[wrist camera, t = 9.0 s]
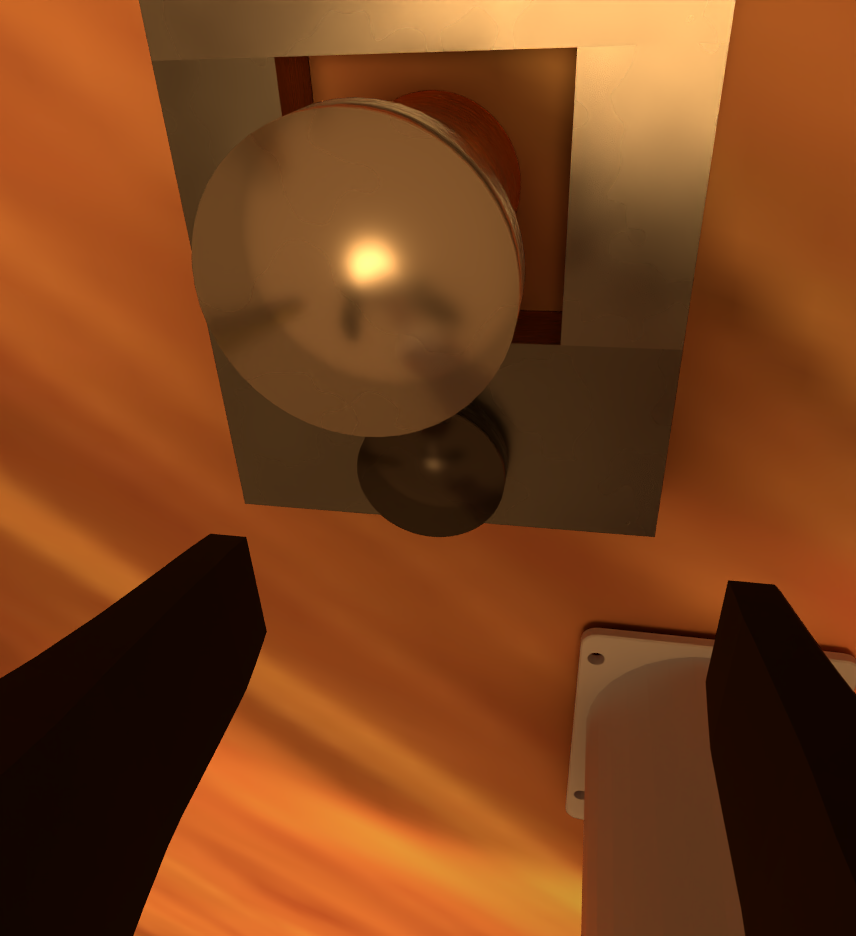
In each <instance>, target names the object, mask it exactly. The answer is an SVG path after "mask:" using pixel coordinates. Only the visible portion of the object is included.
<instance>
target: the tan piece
mask: <svg viewBox="0 0 856 936" xmlns="http://www.w3.org/2000/svg"><path fill="white" fill-rule="evenodd" d="M139 4H140V8H141V13H142V18H143V23H144V27H145V32H146V37H147V42H148V46H149V51H150V56H151V60H152V65H153V70H154V75H155V79H156V84H157V89H158V94H159V98H160V103H161V108H162V112H163V117H164V122H165V127H166V131H167V136H168V141H169V146H170V150H171V155H172V160H173V165H174V169H175V174H176V179H177V183H178V188H179V193H180V198H181V202H182V207H183V212H184V217H185V221H186V226H187V231H188V235H189V240H190V245H191V250H192V236H193V228H194V221H195V218H196V214H197V210H198V206H199V202H200V200H201V198H202V195H203V193H204V191H205V188H206V186H207V183H208V182H209V180H210V178H211V177H212V175H213V174H214V172H215V170H216V169H217V167H218V165H219V164H220V163H221V162H222V161H223V159H224V158H225V157H226V156H227V155H228V154H229V152H230V151H231V150H232V149H233V148H234V147H235V146H236V145H238V144H239V143H240V142H241V141H242V140H243V139H245V138H246V137H247V136H248V135H249V134H251V133H253V132H254V131H256V130H257V129H259V128H261V127H262V126H264V125H266V124H267V123H269V122H271V121H274V120H276V119H278V118H280V117H282V116H285V115H287V114H289V113H291V112H294V111H296V110H298V109H301V108H303V107H306V106H308V105H311V104H313V98H312V89H311V80H310V71H309V62H308V56H320V55H351V54H382V53H413V52H444V51H475V50H507V49H538V48H569V47H577V63H576V81H575V99H574V116H573V134H572V152H571V170H570V187H569V205H568V223H567V241H566V258H565V276H564V294H563V312H552V311H519V314H518V318H517V322H516V326H515V330H514V334H513V338H512V342H511V344H510V346H509V349H508V351H507V354H506V356H505V359H504V361H503V362H502V364H501V366H500V368H499V369H498V371H497V373H496V374H495V376H494V377H493V379H492V380H491V381H490V382H489V384H488V385H487V386H486V388H485V389H484V390H483V391H482V392H481V393H480V394H479V395H478V396H477V397H476V398H475V399H474V400H473V401H472V402H471V403H470V404H469V405H467V406H466V407H465V408H463V409H462V410H460V411H459V412H458V413H456V414H455V415H453V416H452V417H450V418H448V419H446V420H444V421H442V422H440V423H438V424H436V425H434V426H431V427H428V428H426V429H423V430H420V431H416V432H412V433H408V434H404V435H397V436H387V437H362V436H354V435H347V434H342V433H338V432H334V431H329V430H326V429H323V428H320V427H317V426H315V425H312V424H309V423H307V422H305V421H303V420H301V419H299V418H297V417H294V416H292V415H290V414H289V413H287V412H286V411H284V410H282V409H281V408H279V407H278V406H276V405H274V404H273V403H272V402H270V401H269V400H268V399H266V398H265V397H264V396H263V395H261V394H260V393H259V392H258V391H256V390H255V389H254V388H253V387H252V386H251V385H250V384H249V383H248V382H247V381H246V380H245V379H244V378H243V377H242V376H241V375H240V374H239V372H238V371H237V370H236V369H235V368H234V366H233V365H232V364H231V363H230V362H229V360H228V359H227V357H226V356H225V354H224V353H223V351H222V350H221V348H220V347H219V345H218V344H217V342H216V340H215V338H214V336H213V334H212V332H211V331H210V329H209V327H208V330H209V335H210V340H211V344H212V349H213V354H214V358H215V363H216V368H217V373H218V377H219V382H220V387H221V392H222V396H223V401H224V406H225V411H226V415H227V420H228V425H229V429H230V434H231V439H232V444H233V448H234V453H235V458H236V463H237V467H238V472H239V477H240V481H241V486H242V491H243V496H244V500H245V504H256V505H269V506H281V507H293V508H305V509H318V510H330V511H342V512H354V513H367V514H379V515H382V516H383V517H384V518H386V519H387V520H388V521H390V522H391V523H393V524H395V525H396V526H398V527H400V528H402V529H404V530H407V531H410V532H412V533H416V534H420V535H424V536H432V537H447V536H455V535H460V534H463V533H466V532H469V531H471V530H473V529H475V528H477V527H478V526H480V525H482V524H483V523H489V524H501V525H514V526H526V527H538V528H550V529H562V530H575V531H587V532H599V533H611V534H624V535H636V536H648V537H655V531H656V524H657V518H658V511H659V504H660V498H661V491H662V485H663V478H664V471H665V465H666V458H667V451H668V445H669V438H670V431H671V425H672V418H673V411H674V405H675V398H676V392H677V385H678V378H679V372H680V365H681V358H682V352H683V345H684V338H685V332H686V325H687V319H688V312H689V305H690V299H691V292H692V285H693V279H694V272H695V265H696V259H697V252H698V246H699V239H700V232H701V226H702V219H703V212H704V206H705V199H706V192H707V186H708V179H709V172H710V166H711V159H712V153H713V146H714V139H715V133H716V126H717V119H718V113H719V106H720V99H721V93H722V86H723V80H724V73H725V66H726V60H727V53H728V46H729V40H730V33H731V26H732V20H733V13H734V7H735V0H139Z"/></svg>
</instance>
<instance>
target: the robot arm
mask: <svg viewBox="0 0 856 936" xmlns="http://www.w3.org/2000/svg"><path fill="white" fill-rule="evenodd" d="M266 632H267V631H266V626H265V622H264V617H263V612H262V608H261V603H260V599H259V594H258V589H257V585H256V580H255V575H254V571H253V566H252V562H251V557H250V552H249V548H248V543H247V539H246V537H240V536H229V535H218V534H209V535H208V536H206V537H205V538H203V539H202V540H200V541H199V542H198V543H196V544H195V545H193V546H192V547H190V548H189V549H188V550H186V551H185V552H184V553H182V554H181V555H179V556H178V557H177V558H175V559H174V560H173V561H171V562H170V563H169V564H167V565H166V566H165V567H163V568H162V569H161V570H159V571H158V572H157V573H155V574H154V575H153V576H151V577H150V578H148V579H147V580H146V581H144V582H143V583H142V584H140V585H139V586H138V587H136V588H135V589H133V590H132V591H131V592H129V593H128V594H127V595H125V596H124V597H122V598H121V599H120V600H118V601H117V602H116V603H114V604H113V605H111V606H110V607H109V608H107V609H106V610H105V611H103V612H102V613H100V614H99V615H98V616H96V617H95V618H93V619H92V620H90V621H89V622H87V623H86V624H84V625H83V626H81V627H80V628H78V629H77V630H75V631H74V632H72V633H71V634H69V635H68V636H66V637H65V638H63V639H62V640H60V641H59V642H57V643H56V644H54V645H53V646H51V647H50V648H48V649H47V650H45V651H44V652H42V653H41V654H39V655H38V656H36V657H35V658H33V659H31V660H30V661H28V662H27V663H25V664H23V665H22V666H20V667H18V668H17V669H15V670H13V671H12V672H10V673H8V674H7V675H5V676H4V677H2V678H0V936H133V935H134V932H135V930H136V927H137V924H138V921H139V919H140V916H141V913H142V911H143V908H144V905H145V903H146V900H147V898H148V895H149V893H150V890H151V888H152V885H153V883H154V880H155V878H156V875H157V873H158V870H159V868H160V865H161V862H162V860H163V857H164V855H165V852H166V850H167V847H168V845H169V843H170V841H171V839H172V836H173V834H174V832H175V830H176V828H177V826H178V823H179V821H180V819H181V817H182V815H183V813H184V811H185V809H186V807H187V805H188V803H189V801H190V799H191V798H192V796H193V794H194V792H195V790H196V788H197V786H198V784H199V782H200V780H201V778H202V776H203V774H204V772H205V770H206V768H207V766H208V764H209V762H210V761H211V759H212V757H213V755H214V753H215V751H216V749H217V747H218V745H219V743H220V741H221V739H222V737H223V735H224V733H225V731H226V729H227V727H228V725H229V723H230V721H231V719H232V717H233V715H234V713H235V711H236V709H237V707H238V705H239V703H240V701H241V699H242V697H243V695H244V693H245V691H246V689H247V686H248V684H249V681H250V678H251V676H252V673H253V670H254V667H255V665H256V662H257V659H258V656H259V653H260V650H261V647H262V644H263V641H264V638H265V635H266ZM591 653H599V654H601V655H592V654H591ZM855 688H856V658H855V657H853V656H852V655H849V654H845V653H838V652H828V651H823V650H822V649H821V648H820V646H819V645H818V644H817V642H816V641H815V640H814V638H813V637H812V635H811V634H810V633H809V631H808V630H807V628H806V627H805V626H804V624H803V623H802V621H801V620H800V618H799V617H798V616H797V614H796V613H795V611H794V610H793V608H792V607H791V605H790V604H789V603H788V601H787V600H786V598H785V597H784V595H783V594H782V593H781V591H780V590H779V589H778V588H777V587H776V586H775V585H772V584H761V583H750V582H739V581H728V584H727V588H726V593H725V597H724V602H723V606H722V610H721V615H720V619H719V624H718V628H717V633H716V637H715V640H713V639H703V638H694V637H684V636H674V635H665V634H655V633H646V632H636V631H626V630H617V629H607V628H590V629H588V630H586V631H585V632H584V633H583V634H582V636H581V644H580V655H579V665H578V676H577V687H576V698H575V708H574V719H573V730H572V741H571V751H570V762H569V773H568V784H567V794H566V812H567V813H568V814H569V815H570V816H572V817H574V818H577V819H583V820H584V838H583V881H582V924H581V936H856V694H855V693H854V691H855Z"/></svg>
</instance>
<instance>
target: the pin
mask: <svg viewBox="0 0 856 936" xmlns="http://www.w3.org/2000/svg"><path fill="white" fill-rule="evenodd" d="M520 190H521V178H520V169H519V163H518V160H517V156H516V153H515V150H514V148H513V145H512V143H511V141H510V139H509V137H508V135H507V134H506V132H505V130H504V129H503V128H502V126H501V125H500V124H499V123H498V121H497V120H496V119H495V118H494V117H493V116H492V115H491V114H490V113H489V112H488V111H487V110H485V109H484V108H483V107H481V106H480V105H479V104H477V103H475V102H474V101H472V100H470V99H468V98H466V97H463V96H461V95H458V94H455V93H451V92H446V91H438V90H426V91H418V92H413V93H409V94H406V95H404V96H401V97H399V98H396V99H395V100H393V101H391V102H389V101H385V100H380V99H372V98H357V97H352V98H340V99H331V100H327V101H322V102H318V103H314V104H311V105H308V106H306V107H303V108H301V109H298V110H296V111H294V112H291V113H289V114H287V115H285V116H282V117H280V118H278V119H276V120H274V121H271V122H269V123H267V124H266V125H264V126H262V127H261V128H259V129H257V130H256V131H254V132H253V133H251V134H249V135H248V136H247V137H246V138H245V139H243V140H242V141H241V142H240V143H239V144H238V145H236V146H235V147H234V148H233V149H232V150H231V151H230V152H229V154H228V155H227V156H226V157H225V158H224V159H223V161H222V162H221V163H220V164H219V165H218V167H217V169H216V170H215V172H214V174H213V175H212V177H211V178H210V180H209V182H208V183H207V186H206V188H205V191H204V193H203V195H202V198H201V200H200V202H199V206H198V210H197V214H196V218H195V221H194V228H193V236H192V269H193V276H194V283H195V288H196V292H197V296H198V300H199V303H200V307H201V309H202V312H203V314H204V317H205V320H206V322H207V325H208V327H209V329H210V331H211V332H212V334H213V336H214V338H215V340H216V342H217V344H218V345H219V347H220V348H221V350H222V351H223V353H224V354H225V356H226V357H227V359H228V360H229V362H230V363H231V364H232V365H233V366H234V368H235V369H236V370H237V371H238V372H239V374H240V375H241V376H242V377H243V378H244V379H245V380H246V381H247V382H248V383H249V384H250V385H251V386H252V387H253V388H254V389H255V390H256V391H258V392H259V393H260V394H261V395H263V396H264V397H265V398H266V399H268V400H269V401H270V402H272V403H273V404H274V405H276V406H278V407H279V408H281V409H282V410H284V411H286V412H287V413H289V414H290V415H292V416H294V417H297V418H299V419H301V420H303V421H305V422H307V423H309V424H312V425H315V426H317V427H320V428H323V429H326V430H329V431H334V432H338V433H342V434H347V435H354V436H362V437H387V436H397V435H404V434H408V433H412V432H416V431H420V430H423V429H426V428H428V427H431V426H434V425H436V424H438V423H440V422H442V421H444V420H446V419H448V418H450V417H452V416H453V415H455V414H456V413H458V412H459V411H460V410H462V409H463V408H465V407H466V406H467V405H469V404H470V403H471V402H472V401H473V400H474V399H475V398H476V397H477V396H478V395H479V394H480V393H481V392H482V391H483V390H484V389H485V388H486V386H487V385H488V384H489V382H490V381H491V380H492V379H493V377H494V376H495V374H496V373H497V371H498V369H499V368H500V366H501V364H502V362H503V361H504V359H505V356H506V354H507V351H508V349H509V346H510V344H511V342H512V338H513V334H514V330H515V326H516V322H517V318H518V314H519V310H520V306H521V302H522V298H523V290H524V281H525V255H524V249H523V243H522V236H521V232H520V228H519V225H518V222H517V218H516V212H517V209H518V204H519V200H520Z"/></svg>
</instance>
